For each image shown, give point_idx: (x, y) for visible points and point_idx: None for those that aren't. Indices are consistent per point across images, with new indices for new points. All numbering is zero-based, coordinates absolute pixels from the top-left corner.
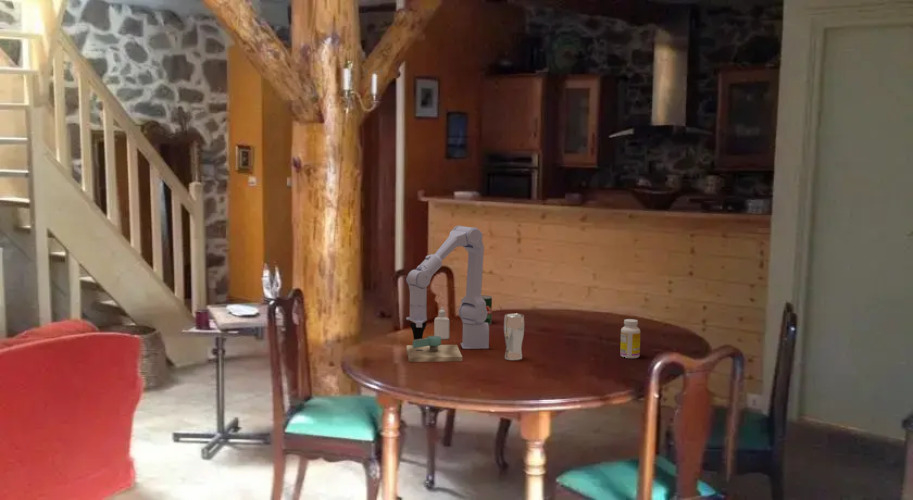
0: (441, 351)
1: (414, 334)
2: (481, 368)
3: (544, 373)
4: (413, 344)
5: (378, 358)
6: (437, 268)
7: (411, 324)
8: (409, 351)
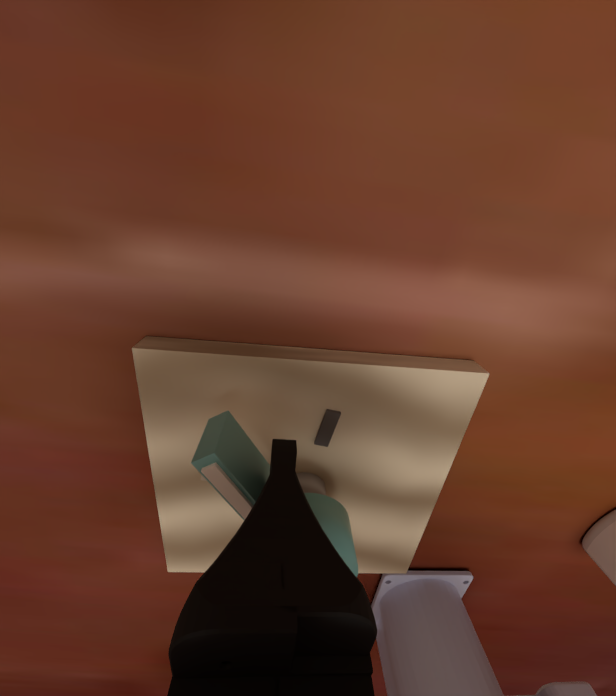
0: None
1: (257, 507)
2: (56, 587)
3: (27, 689)
4: (215, 430)
5: (263, 109)
6: None
7: (193, 645)
8: (312, 371)
